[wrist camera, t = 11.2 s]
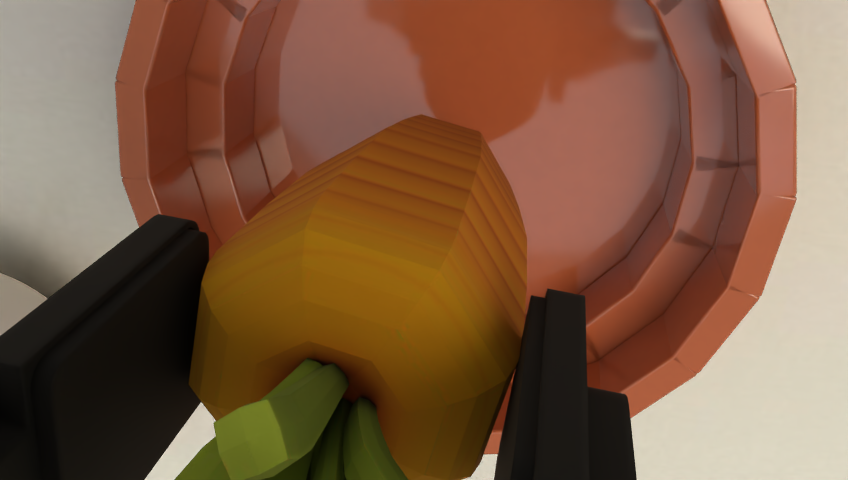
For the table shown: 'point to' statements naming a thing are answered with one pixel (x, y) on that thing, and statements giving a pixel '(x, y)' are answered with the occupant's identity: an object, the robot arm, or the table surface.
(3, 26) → the table surface
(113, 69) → the table surface
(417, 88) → the terracotta bowl
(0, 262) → the table surface
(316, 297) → the carrot
